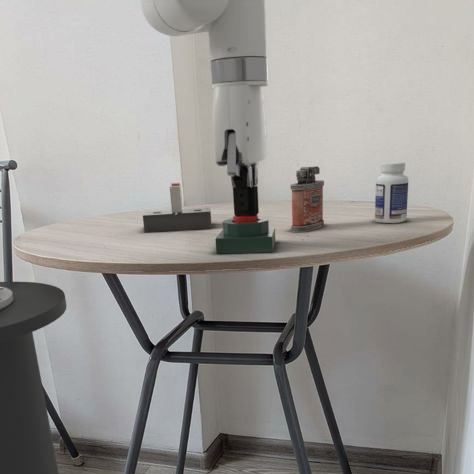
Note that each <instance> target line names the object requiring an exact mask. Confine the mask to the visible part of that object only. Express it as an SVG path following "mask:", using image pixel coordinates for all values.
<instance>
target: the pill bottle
mask: <svg viewBox="0 0 474 474" xmlns="http://www.w3.org/2000/svg"><path fill="white" fill-rule="evenodd" d="M379 170H380V173H381V175H379V176H378V177H377V178H376V180H375V199H374V201H375V203H374V221H375V222H376V223H381V224H397V223H403V222H405V221H406V220H407V219H408V217H407V215H408V200H409V199H408V198H409V197H408V196H409V177H408V176H407V175H405V174H404V172H405V171H406V162H405V161H391V162H381V163H380V169H379Z"/></svg>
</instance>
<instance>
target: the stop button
mask: <svg viewBox="0 0 474 474" xmlns="http://www.w3.org/2000/svg"><path fill="white" fill-rule="evenodd" d="M258 217H259V215H258V214H257V215H255V216H235V214H234V215H233V216H232V218H233V222H237V223H246V222H256V221H258Z"/></svg>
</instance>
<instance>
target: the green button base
mask: <svg viewBox="0 0 474 474" xmlns="http://www.w3.org/2000/svg"><path fill="white" fill-rule="evenodd" d="M269 223H270V221H269V217H268V218H267V217H264V216H263V217H262V216H258V221H256V222H246V223H237V222H233V217H232V218H228V219H224V220H223V222H222V230H220V232H219V233H218V235H217V236H216V238H215V253H216V255H225V254H227V255H228V254H232V255H233V254H259V253H260V254H261V253H265V254H266V253H267V254H268V253H273V252H274V248H275V244H276V227H270V226H269Z"/></svg>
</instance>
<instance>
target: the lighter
mask: <svg viewBox="0 0 474 474" xmlns="http://www.w3.org/2000/svg"><path fill="white" fill-rule="evenodd" d="M320 174H321V173H320V167H319V166H317V165H316V166H315V165H314V166H301V167H300V169H298V170H296V171H295V177H296V180H297V182H296V183H291V184H290V190H291V221H292V223H291V225H290V230H291V232H293V233H305V232H308V231H313V230H317V229H319V228H323V227H324V225H325V219H324V218H323V217H324V193H323V191H324V186H325V181H324V180H321V179H319V180H316V176H317V175H320Z"/></svg>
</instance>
